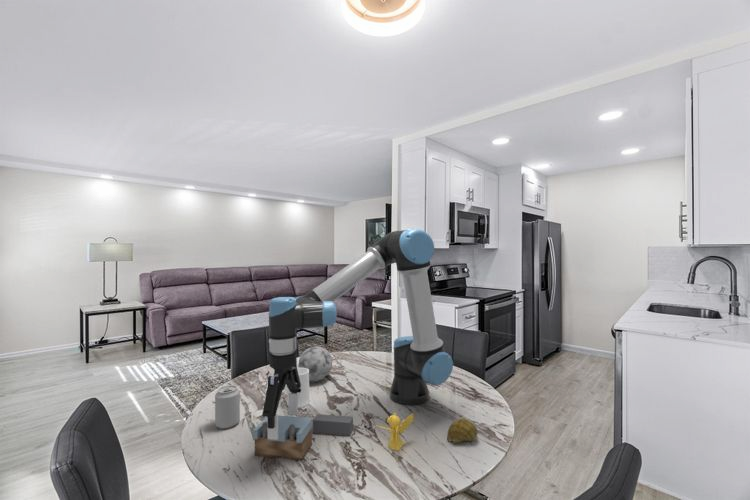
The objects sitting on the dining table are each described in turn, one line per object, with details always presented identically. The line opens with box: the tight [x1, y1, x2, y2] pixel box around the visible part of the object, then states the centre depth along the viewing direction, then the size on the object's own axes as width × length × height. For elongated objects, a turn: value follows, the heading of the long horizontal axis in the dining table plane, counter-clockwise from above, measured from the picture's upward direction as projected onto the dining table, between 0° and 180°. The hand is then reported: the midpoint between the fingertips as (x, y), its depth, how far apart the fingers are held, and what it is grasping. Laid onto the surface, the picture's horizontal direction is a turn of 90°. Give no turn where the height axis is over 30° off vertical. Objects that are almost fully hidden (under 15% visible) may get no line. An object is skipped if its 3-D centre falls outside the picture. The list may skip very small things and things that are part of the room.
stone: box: [297, 345, 333, 383], centre depth 150 cm, size 15×16×15 cm
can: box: [214, 384, 241, 430], centre depth 112 cm, size 8×8×12 cm
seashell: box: [446, 418, 479, 444], centre depth 102 cm, size 10×7×8 cm
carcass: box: [254, 422, 313, 461], centre depth 97 cm, size 14×8×9 cm, turn 80°
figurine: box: [374, 412, 415, 451], centre depth 100 cm, size 12×12×9 cm
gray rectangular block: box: [312, 413, 354, 437], centre depth 107 cm, size 12×4×4 cm, turn 80°
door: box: [252, 414, 314, 443], centre depth 97 cm, size 14×9×2 cm, turn 80°
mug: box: [286, 367, 311, 409], centre depth 126 cm, size 12×8×12 cm
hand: (283, 426), depth 97 cm, fingers open, 13 cm apart
